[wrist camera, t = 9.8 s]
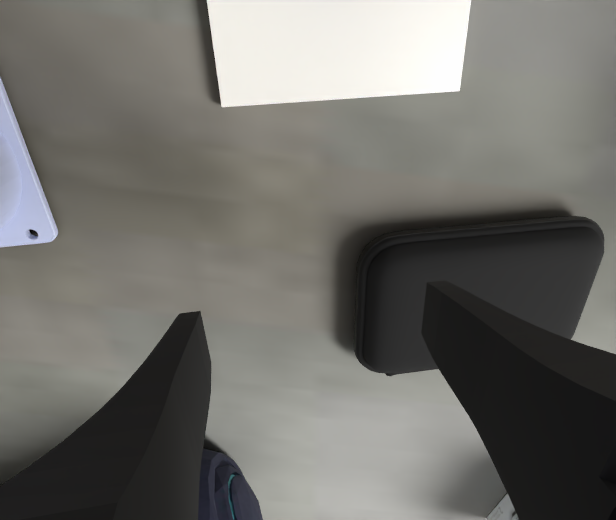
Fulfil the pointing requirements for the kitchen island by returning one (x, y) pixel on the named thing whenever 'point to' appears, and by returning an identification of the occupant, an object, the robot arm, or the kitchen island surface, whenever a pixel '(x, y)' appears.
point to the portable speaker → (224, 490)
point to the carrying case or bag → (471, 281)
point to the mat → (336, 48)
